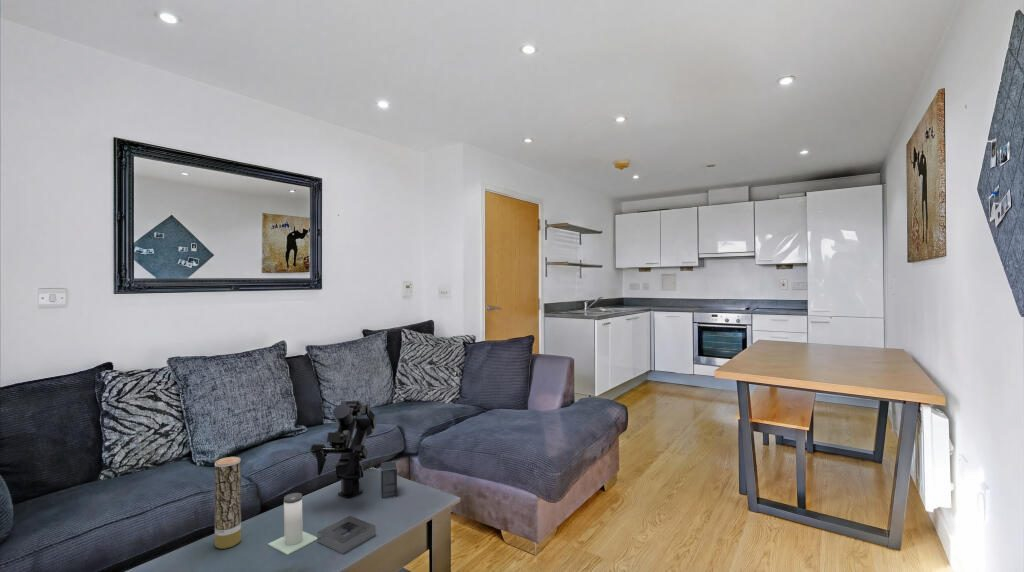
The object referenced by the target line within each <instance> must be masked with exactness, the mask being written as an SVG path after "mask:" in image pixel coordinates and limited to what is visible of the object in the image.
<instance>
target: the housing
mask: <svg viewBox="0 0 1024 572" xmlns="http://www.w3.org/2000/svg"><path fill="white" fill-rule="evenodd" d="M376 529H377V528H376V524H372V523H369V522H367V521H364V520H362V519H360V518H358V517H354V516H352V515H349V516H347V517H344V518H342V519H341V520H339V521H337V522H335V523H333V524H331V525H329V526H327V527H325V528H323V529H322V528H321V529H320V530H319V531H317V533H316V534H317V535H316V537H317V540H316V541H317V543H319V544H321V545H323V546H325V547H328V548H329V549H331V550H334V551H335V552H338V553H339V554H342V555H344V554H345V553H347V552H350V551H351V550H353V549H354V548H356V547H357V546H360V545H362V544H363V543H365V542H367V541H368V540H370V539H372V538H373V537H375V536H376V535H377V533H376ZM347 532H348V533H349V532H350V533H349V534H347V535H344V534H346V533H347Z"/></svg>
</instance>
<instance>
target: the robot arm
mask: <svg viewBox="0 0 1024 572" xmlns="http://www.w3.org/2000/svg"><path fill="white" fill-rule="evenodd" d="M332 415H333V417H334V420H335V423H336V424H337V425H338V426H337V430H335V431H332V432H331V431H330V432H327V438H326V443H329V446H330V447H326V445H325V444H324V443H313V444H312V445H311V446H310V449H309V452H310V453H311V455H312V456H313V457H314V458H315V459H316V462H317V464H316V465H317V466H316V467H317V476H319V477H320V476H321V474H322V472H323V470H324V469H323V468H324V466H325V465H326V464H325V463H326V462H327V455H328V454H329V455H334V454H335V455H340V457H339V459H338V462H337V463H336V464H335V475H336V480H338V481H339V480H340V483H341V485H340V487H341V489H340V491H339V492H337V495H338V496H341V497H344V498H346V499H351V498H353V497H355V496H357V495H359V494H362V493H363V490H362V489H360V487H361V486H360V480H361V479H362V478H363V477H364V466H363V464H362V463H361V462H362V461H363V460H366V459H367V458H368V450H367V448H366V446H365V443H366V439H367V437H369V436H371V435H372V434H373V432H374V430H375V429H376V425H377V421H376V415H375V414H374V412H373V411H372V410H371V408H370V405H369V404H362V402H361V400H343V401H340V404H338V405H337V406H335V407H334V408H333V411H332ZM360 416H366V417H360Z"/></svg>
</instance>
